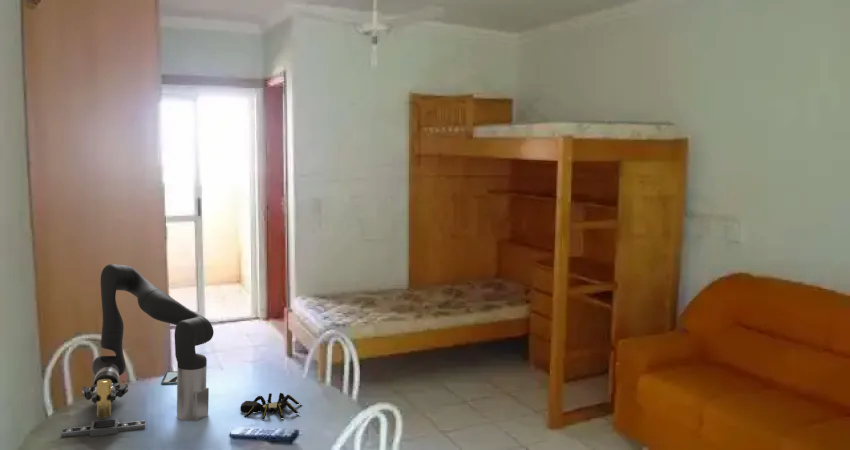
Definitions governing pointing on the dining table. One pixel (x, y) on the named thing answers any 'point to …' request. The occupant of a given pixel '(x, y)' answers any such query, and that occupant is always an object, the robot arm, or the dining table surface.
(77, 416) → the dining table surface
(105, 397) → the brass pin
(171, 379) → the smartphone
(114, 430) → the ball bearing track
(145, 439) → the dining table surface
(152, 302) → the robot arm
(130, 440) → the dining table surface
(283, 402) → the toy
